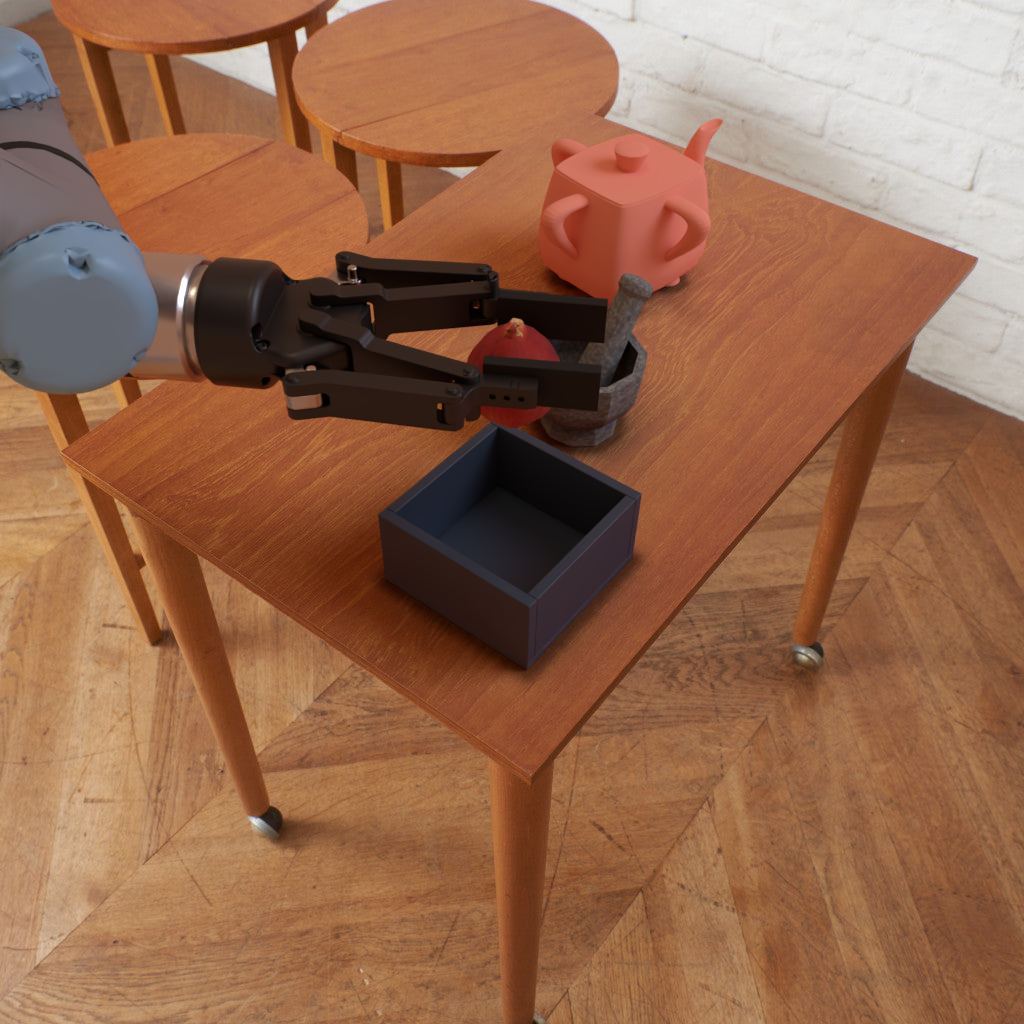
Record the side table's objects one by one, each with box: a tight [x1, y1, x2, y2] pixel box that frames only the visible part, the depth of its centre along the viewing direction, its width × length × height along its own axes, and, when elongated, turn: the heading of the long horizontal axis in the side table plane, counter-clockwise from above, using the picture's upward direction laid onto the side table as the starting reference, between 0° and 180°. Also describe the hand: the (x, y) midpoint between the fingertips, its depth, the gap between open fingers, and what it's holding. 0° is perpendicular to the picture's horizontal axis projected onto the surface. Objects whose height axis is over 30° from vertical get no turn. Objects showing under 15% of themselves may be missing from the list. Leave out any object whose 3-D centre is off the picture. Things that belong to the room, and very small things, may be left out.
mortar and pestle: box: [540, 273, 653, 448], centre depth 82 cm, size 11×9×12 cm
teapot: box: [537, 118, 724, 309], centre depth 96 cm, size 17×16×13 cm
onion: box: [466, 318, 560, 429], centre depth 62 cm, size 6×6×8 cm
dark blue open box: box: [377, 421, 643, 671], centre depth 72 cm, size 13×13×7 cm
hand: (602, 353), depth 60 cm, fingers closed on onion, 6 cm apart
